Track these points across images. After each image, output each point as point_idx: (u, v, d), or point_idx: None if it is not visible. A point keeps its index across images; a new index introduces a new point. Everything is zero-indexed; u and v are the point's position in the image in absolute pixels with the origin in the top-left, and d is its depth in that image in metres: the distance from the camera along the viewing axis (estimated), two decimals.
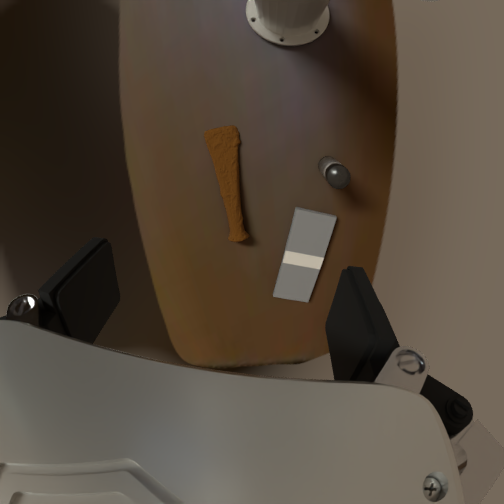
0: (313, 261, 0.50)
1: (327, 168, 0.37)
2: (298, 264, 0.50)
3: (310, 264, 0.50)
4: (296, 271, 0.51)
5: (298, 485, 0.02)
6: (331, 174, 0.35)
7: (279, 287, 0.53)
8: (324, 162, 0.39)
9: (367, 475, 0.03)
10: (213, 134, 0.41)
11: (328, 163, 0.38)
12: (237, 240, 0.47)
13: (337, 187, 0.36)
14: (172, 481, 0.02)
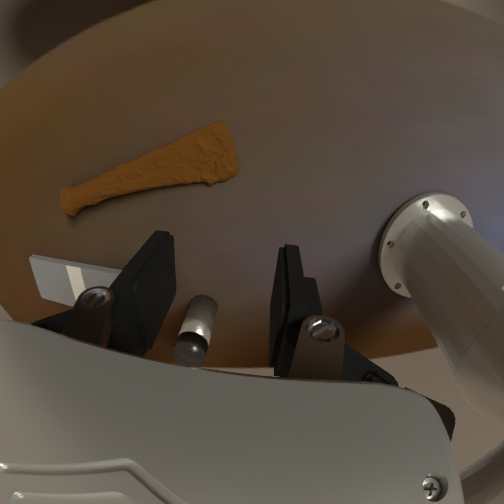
0: None
1: (197, 335, 0.26)
2: (72, 284, 0.31)
3: None
4: (64, 282, 0.31)
5: (298, 485, 0.02)
6: (189, 349, 0.25)
7: (40, 263, 0.30)
8: (205, 315, 0.29)
9: (367, 475, 0.02)
10: (220, 138, 0.23)
11: (204, 328, 0.27)
12: (62, 206, 0.24)
13: (174, 355, 0.25)
14: (172, 481, 0.02)
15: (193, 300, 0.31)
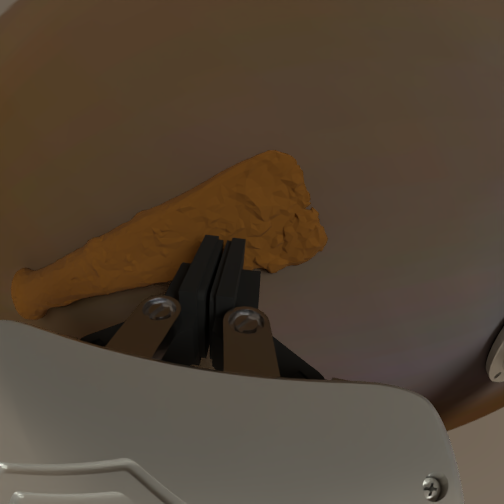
0: None
1: None
2: None
3: None
4: None
5: (298, 485, 0.02)
6: None
7: None
8: None
9: (367, 475, 0.03)
10: (292, 180, 0.11)
11: None
12: (18, 309, 0.13)
13: None
14: (172, 482, 0.02)
15: None
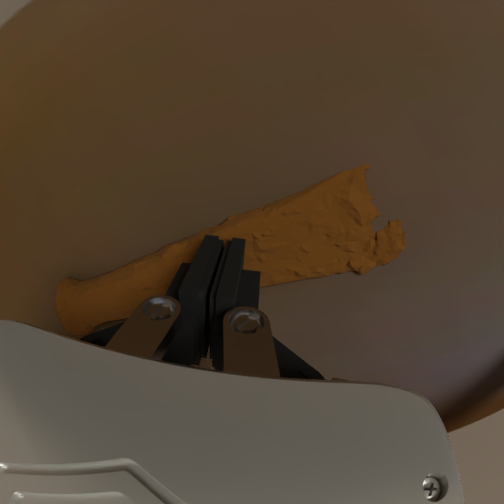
0: None
1: None
2: None
3: None
4: None
5: (298, 485, 0.02)
6: None
7: None
8: None
9: (367, 475, 0.02)
10: None
11: None
12: (65, 324, 0.13)
13: None
14: (172, 482, 0.02)
15: None
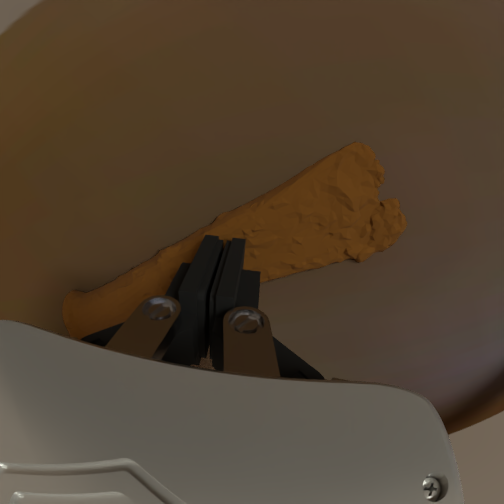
0: None
1: None
2: None
3: None
4: None
5: (298, 485, 0.02)
6: None
7: None
8: None
9: (367, 475, 0.02)
10: (376, 170, 0.11)
11: None
12: (73, 336, 0.13)
13: None
14: (172, 481, 0.02)
15: None
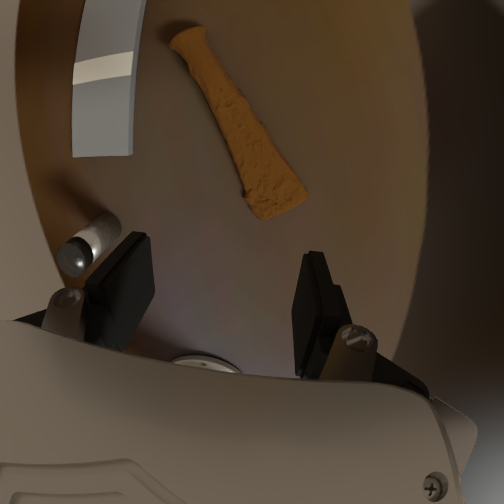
0: (86, 72, 0.19)
1: (91, 261, 0.23)
2: (106, 57, 0.19)
3: (88, 65, 0.19)
4: (108, 43, 0.18)
5: (298, 485, 0.02)
6: (78, 265, 0.21)
7: (135, 4, 0.16)
8: (107, 246, 0.26)
9: (367, 475, 0.02)
10: (292, 199, 0.25)
11: (97, 257, 0.24)
12: (181, 34, 0.17)
13: (64, 248, 0.20)
14: (172, 482, 0.02)
15: (114, 220, 0.27)
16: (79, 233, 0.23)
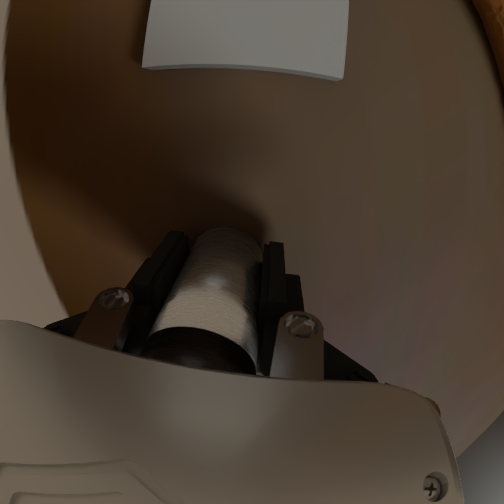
0: None
1: None
2: None
3: None
4: None
5: (298, 485, 0.02)
6: None
7: None
8: None
9: (367, 475, 0.02)
10: None
11: None
12: None
13: None
14: (173, 482, 0.02)
15: (254, 248, 0.11)
16: (192, 309, 0.07)
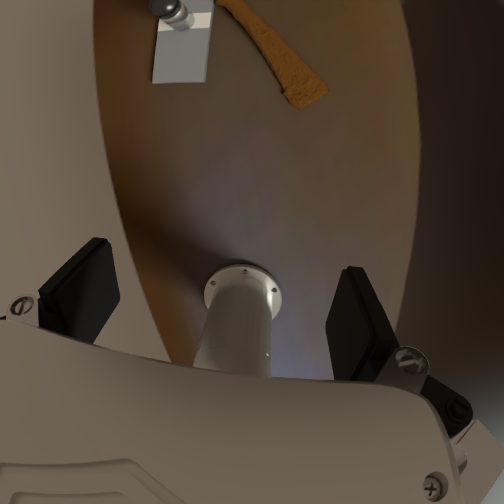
0: None
1: (178, 9, 0.21)
2: None
3: None
4: (190, 5, 0.25)
5: (298, 485, 0.02)
6: (171, 2, 0.19)
7: None
8: (185, 19, 0.24)
9: (367, 475, 0.02)
10: (317, 91, 0.31)
11: (179, 17, 0.22)
12: None
13: None
14: (172, 482, 0.02)
15: None
16: None
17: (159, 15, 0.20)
